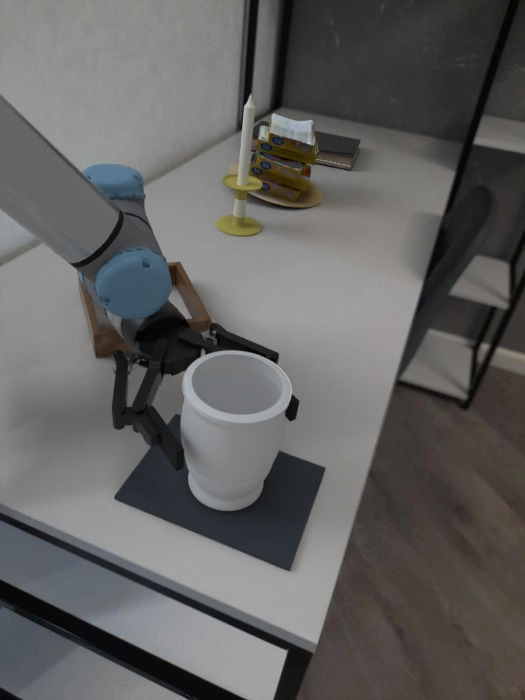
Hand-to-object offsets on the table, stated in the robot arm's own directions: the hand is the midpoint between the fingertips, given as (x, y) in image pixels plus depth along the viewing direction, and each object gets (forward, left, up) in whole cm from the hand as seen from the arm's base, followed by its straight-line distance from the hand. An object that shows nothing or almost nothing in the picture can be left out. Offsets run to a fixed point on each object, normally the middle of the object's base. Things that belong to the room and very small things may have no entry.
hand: (241, 434), depth 52 cm
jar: (0, +2, -10) cm, 10 cm away
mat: (0, +2, -10) cm, 10 cm away
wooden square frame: (-2, +37, -10) cm, 38 cm away
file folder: (+65, +116, -10) cm, 133 cm away
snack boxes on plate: (+42, +85, -10) cm, 95 cm away
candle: (+25, +66, -10) cm, 71 cm away
